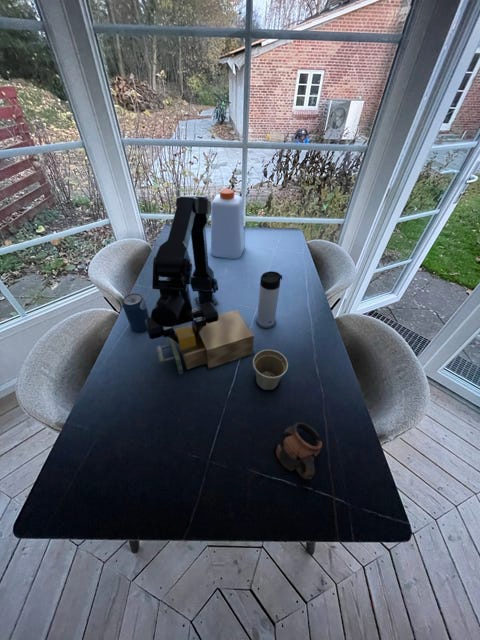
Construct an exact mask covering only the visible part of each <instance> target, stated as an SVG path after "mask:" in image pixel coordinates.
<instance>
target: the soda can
mask: <svg viewBox="0 0 480 640" xmlns="http://www.w3.org/2000/svg"><path fill="white" fill-rule="evenodd" d="M122 309H123V311H124V313H125V317H126V319H127V321H128V324H129V327H130V328H131V329H132V330H134V331H135V332H145V331H147V328H146V324H145V320H146V318H150V317H151V315H150V312H149V309H148V306H147V302H146V300H145V298H144V297H143V296H142V295H141V294H139V293H130V294H127V295H126V296H124V298H123V299H122Z"/></svg>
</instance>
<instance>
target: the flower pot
mask: <svg viewBox="0 0 480 640" xmlns="http://www.w3.org/2000/svg"><path fill="white" fill-rule="evenodd" d="M252 366H253V369H254V370H255V377H256V379H255V380H256V384H257V385H258V387H259V388H261V389H262V390H264V391H265V390H267V391H269V390H270V391H272V390H274V389H275V388H277V386H278V385H279V383H280V380H281V379H282V377H283V376H284V375H286V373H287V371H288V369H289V368H288V367H289V362H288V360H287V357H286V356H285V355H284V354H283V353H281V352H280V351H278V350H274V349H262V350H260V351H258V352H257V353H256V354H255V355H254V356H253V359H252Z"/></svg>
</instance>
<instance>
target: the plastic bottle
mask: <svg viewBox="0 0 480 640" xmlns="http://www.w3.org/2000/svg"><path fill="white" fill-rule="evenodd" d="M244 224H245V223H244V202H243V197H242V196H241V195H237V194H235V191H234V189H230V188H224V189H220V191H219V194H216V196H215V197H214V198H213V199H212V200H211V214H210V254H211V255H212V256H213V257H216V258H221V259H222V258H223V259H228V260H229V259H231V260H235V259H239V258H241V257H242V255H243V252H244V250H245V225H244Z"/></svg>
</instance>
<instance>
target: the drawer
mask: <svg viewBox="0 0 480 640" xmlns="http://www.w3.org/2000/svg"><path fill="white" fill-rule="evenodd" d="M167 339H168V343H169V344H166V345H162V346H161V345H157V346H156V347H155V350H156V354H157V358H158V361H159V364H160V365H165V364H166V362H170V361H173V360H174V362H175V365H176V369H177V373H178V374H179V375H183V374H184V369H183V364H182V360H181V356H182V358H183V362H184V365H185V367H186V370H190V369H193V368H196V367H199V366H202V365H205V364H206V365H207V363H208V362H207V353H206V349H205V346H204V344H203V342H202V340H201V337H200V335H199V334H198V335H197V337H196V339H195V340H196V346H194V347H191V348H187V349H184V350H181V349H180V346H179V345H178V347H177V345H176V342H175V341H174V340H173V339H171V338H169V337H167ZM168 348H170V350H171V353H172V356H170V357H167V358H165V356H164V352H163V350H165V349H168ZM178 348H179V350H180V353H181V356H180V353H179V351H178Z"/></svg>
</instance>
